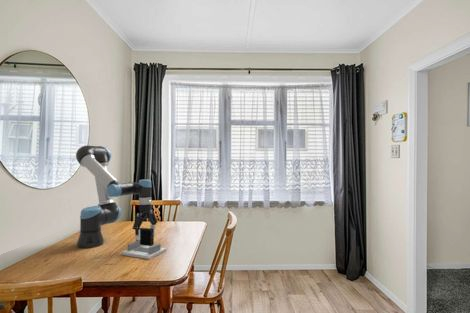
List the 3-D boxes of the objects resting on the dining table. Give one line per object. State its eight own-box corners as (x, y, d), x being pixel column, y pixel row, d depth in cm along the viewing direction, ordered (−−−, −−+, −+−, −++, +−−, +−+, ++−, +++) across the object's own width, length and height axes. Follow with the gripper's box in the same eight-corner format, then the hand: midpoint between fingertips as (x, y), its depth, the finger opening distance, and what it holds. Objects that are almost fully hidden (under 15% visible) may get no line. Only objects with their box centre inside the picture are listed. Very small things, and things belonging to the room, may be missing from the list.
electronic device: (150, 246, 171) (150, 230, 172) (135, 245, 173) (136, 229, 174) (153, 244, 176) (153, 228, 176) (139, 243, 178) (139, 227, 178)
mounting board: (120, 254, 156) (121, 245, 156) (139, 246, 170) (139, 238, 170) (149, 259, 148) (149, 249, 149) (166, 250, 162) (166, 242, 162)
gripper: (136, 207, 162) (136, 243, 161) (162, 201, 185) (162, 233, 185) (126, 206, 165) (126, 242, 164) (153, 201, 188) (153, 232, 187)
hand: (145, 237), depth 174 cm, fingers open, 13 cm apart
